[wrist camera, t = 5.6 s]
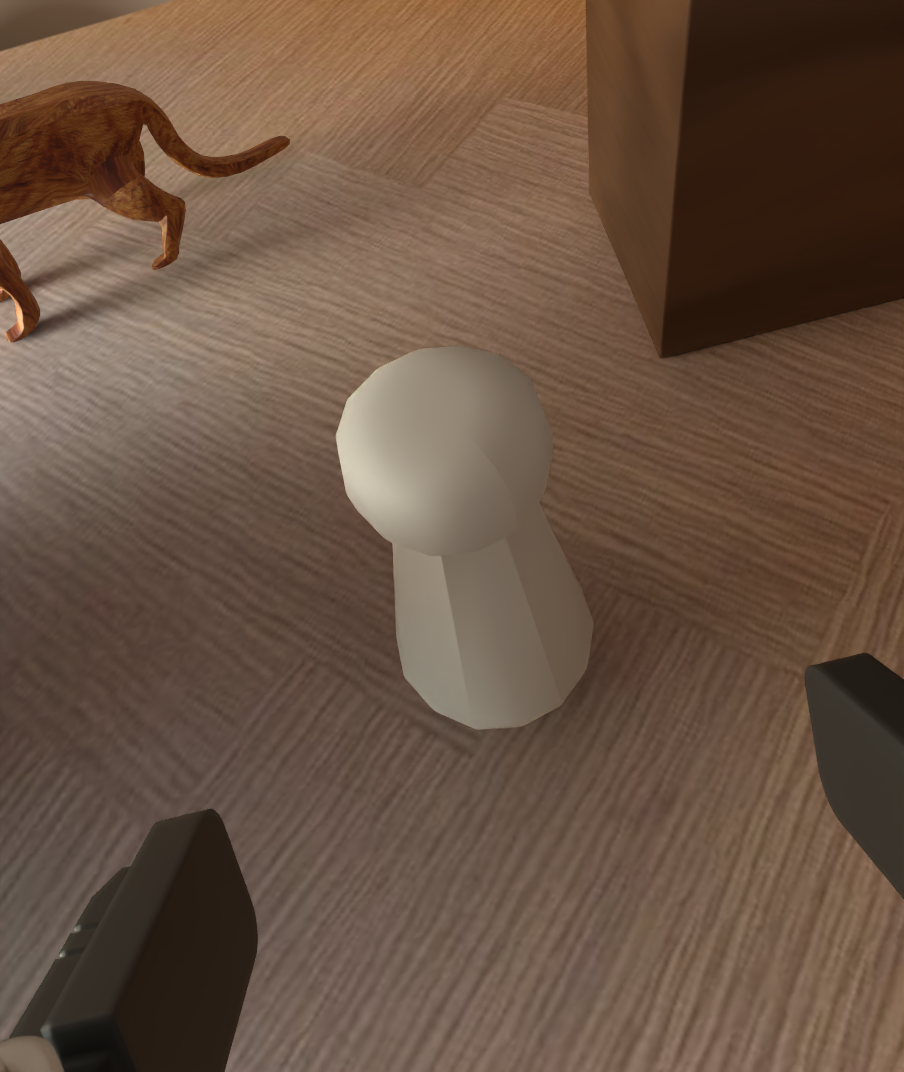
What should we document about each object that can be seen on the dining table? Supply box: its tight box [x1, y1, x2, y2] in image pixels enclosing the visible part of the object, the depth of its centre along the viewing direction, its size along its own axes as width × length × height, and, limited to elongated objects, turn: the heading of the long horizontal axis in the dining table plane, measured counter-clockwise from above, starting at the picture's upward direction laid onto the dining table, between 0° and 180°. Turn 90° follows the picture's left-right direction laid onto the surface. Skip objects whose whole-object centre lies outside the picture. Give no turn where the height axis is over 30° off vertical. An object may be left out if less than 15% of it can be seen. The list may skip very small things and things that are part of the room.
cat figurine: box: [0, 81, 290, 342], centre depth 35 cm, size 18×7×14 cm, turn 122°
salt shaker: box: [336, 345, 594, 730], centre depth 22 cm, size 6×6×13 cm
